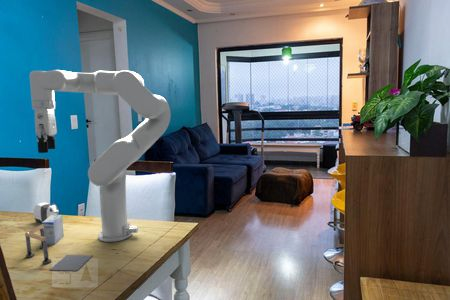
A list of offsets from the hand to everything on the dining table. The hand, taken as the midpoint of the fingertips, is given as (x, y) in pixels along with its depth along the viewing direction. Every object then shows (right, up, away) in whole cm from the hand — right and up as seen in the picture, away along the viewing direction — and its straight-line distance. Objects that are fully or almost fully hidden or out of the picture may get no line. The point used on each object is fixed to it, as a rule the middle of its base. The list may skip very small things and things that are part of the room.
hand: (47, 150), depth 126 cm
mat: (+18, -37, -18) cm, 44 cm away
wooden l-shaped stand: (+5, -36, -11) cm, 38 cm away
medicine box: (+2, -34, +1) cm, 34 cm away
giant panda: (-10, -32, +18) cm, 38 cm away
